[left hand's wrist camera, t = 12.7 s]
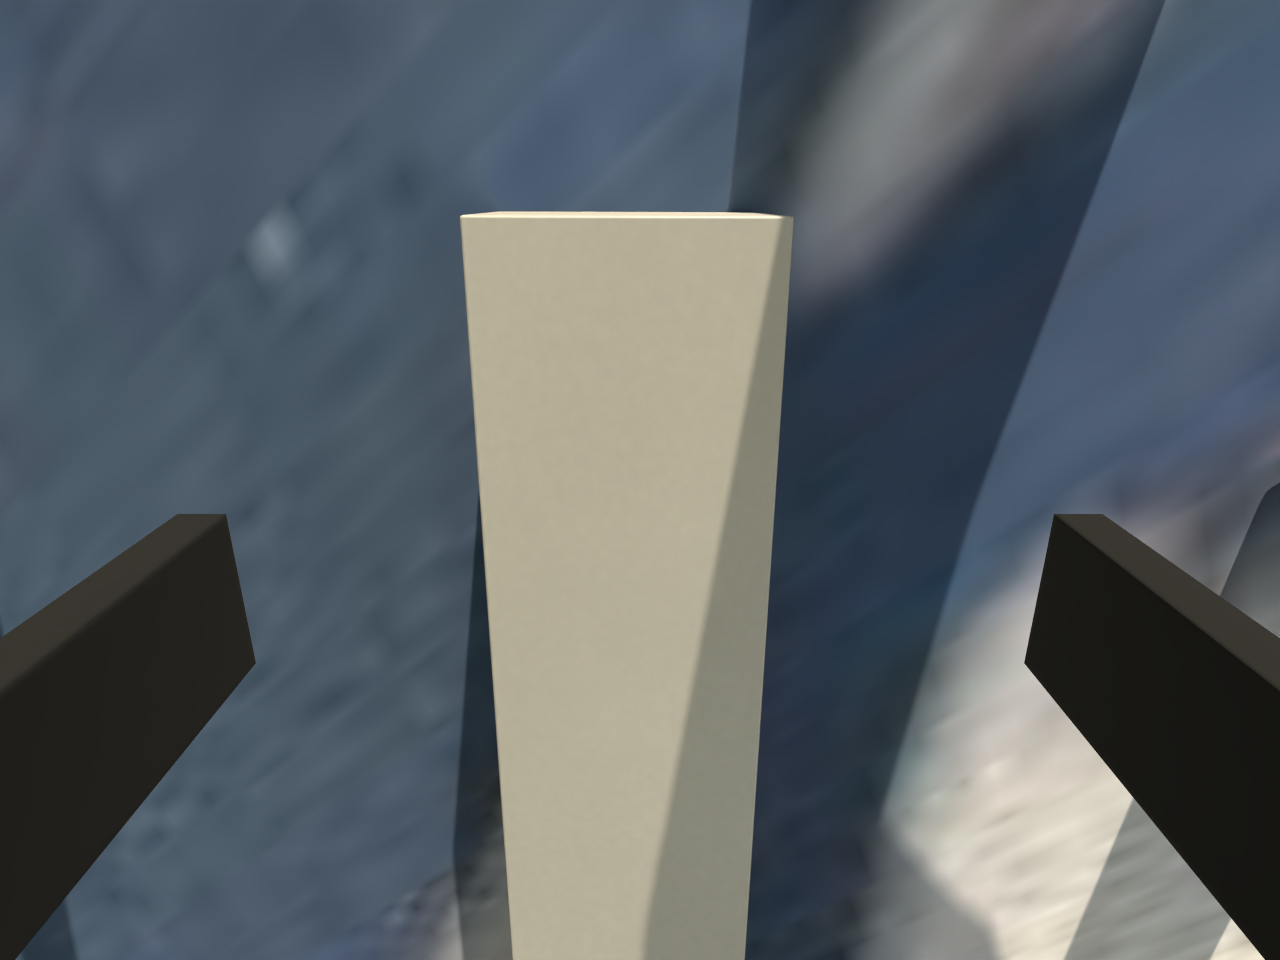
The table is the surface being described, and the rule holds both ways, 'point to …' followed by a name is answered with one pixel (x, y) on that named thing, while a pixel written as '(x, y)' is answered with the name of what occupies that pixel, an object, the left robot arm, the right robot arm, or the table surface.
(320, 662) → the table surface
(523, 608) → the wide beam
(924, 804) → the table surface
